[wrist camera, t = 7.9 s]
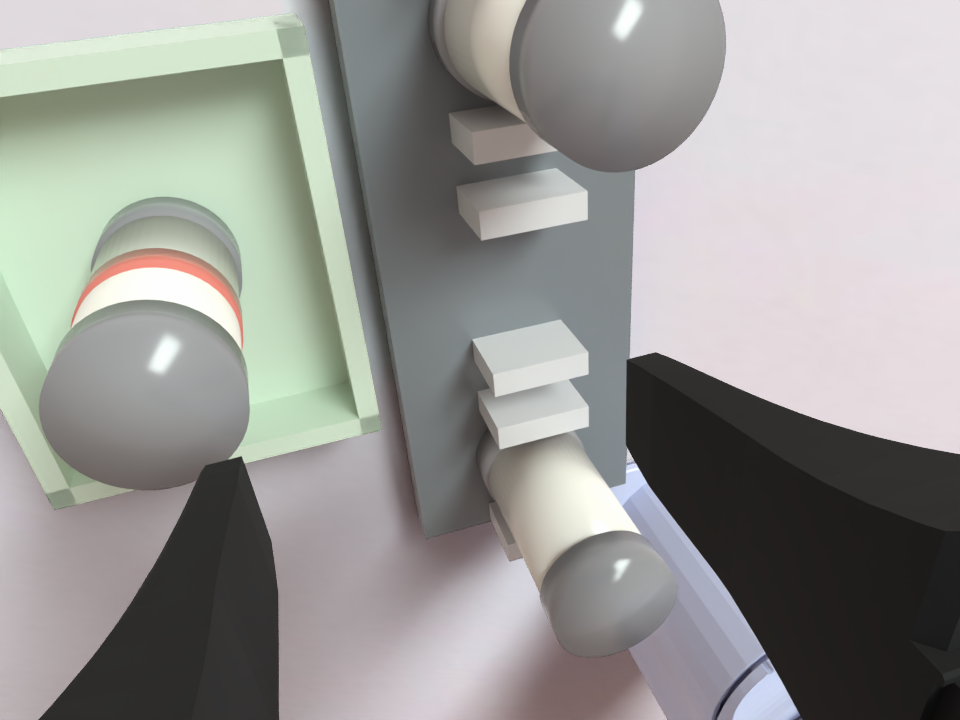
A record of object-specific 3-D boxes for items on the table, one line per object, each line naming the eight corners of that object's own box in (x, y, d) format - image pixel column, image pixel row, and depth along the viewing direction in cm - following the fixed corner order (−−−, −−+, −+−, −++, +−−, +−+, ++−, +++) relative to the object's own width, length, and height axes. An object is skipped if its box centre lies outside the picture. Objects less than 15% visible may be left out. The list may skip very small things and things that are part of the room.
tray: (367, 383, 24) (382, 429, 22) (71, 452, 22) (54, 510, 20) (294, 13, 18) (303, 25, 16) (-118, 64, 17) (-171, 86, 14)
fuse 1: (564, 83, 20) (716, 155, 14) (436, 102, 19) (537, 188, 13) (561, -70, 18) (736, -66, 12) (419, -54, 17) (527, -41, 11)
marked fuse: (256, 304, 21) (271, 462, 15) (126, 334, 21) (85, 511, 14) (219, 184, 19) (219, 307, 13) (74, 212, 19) (2, 356, 12)
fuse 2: (572, 474, 27) (673, 634, 21) (480, 499, 27) (557, 672, 21) (570, 395, 26) (681, 546, 19) (471, 420, 25) (553, 584, 19)
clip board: (612, 464, 30) (652, 521, 27) (418, 517, 28) (440, 583, 25) (622, -133, 19) (691, -142, 16) (310, -104, 17) (327, -108, 15)
